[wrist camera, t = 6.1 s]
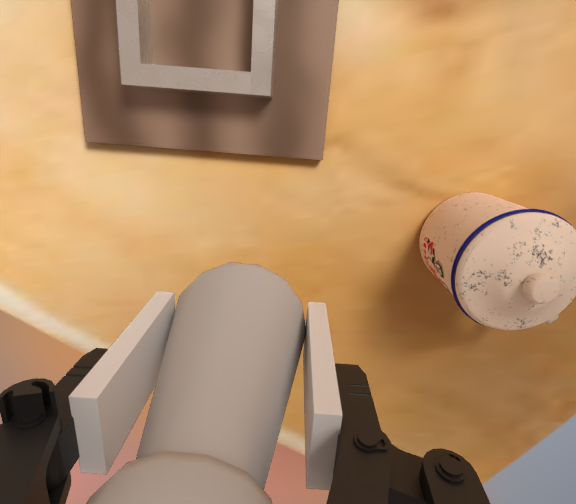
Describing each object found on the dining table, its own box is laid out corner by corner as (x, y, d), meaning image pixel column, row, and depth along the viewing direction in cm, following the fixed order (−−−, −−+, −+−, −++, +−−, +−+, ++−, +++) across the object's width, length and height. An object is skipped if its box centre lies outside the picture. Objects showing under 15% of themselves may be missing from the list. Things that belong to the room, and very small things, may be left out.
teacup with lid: (394, 237, 34) (441, 291, 23) (476, 166, 32) (570, 188, 21) (472, 319, 37) (548, 402, 26) (553, 258, 35) (673, 321, 24)
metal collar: (281, -71, 26) (280, -90, 24) (272, 98, 30) (270, 95, 27) (125, -83, 26) (108, -104, 24) (135, 87, 29) (121, 84, 27)
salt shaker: (190, 345, 19) (5, 724, 7) (188, 242, 18) (-63, 517, 5) (300, 354, 19) (304, 748, 7) (311, 252, 18) (341, 550, 5)
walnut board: (351, -138, 25) (353, -148, 24) (321, 159, 32) (322, 160, 31) (62, -161, 25) (53, -173, 24) (91, 141, 32) (85, 141, 31)
